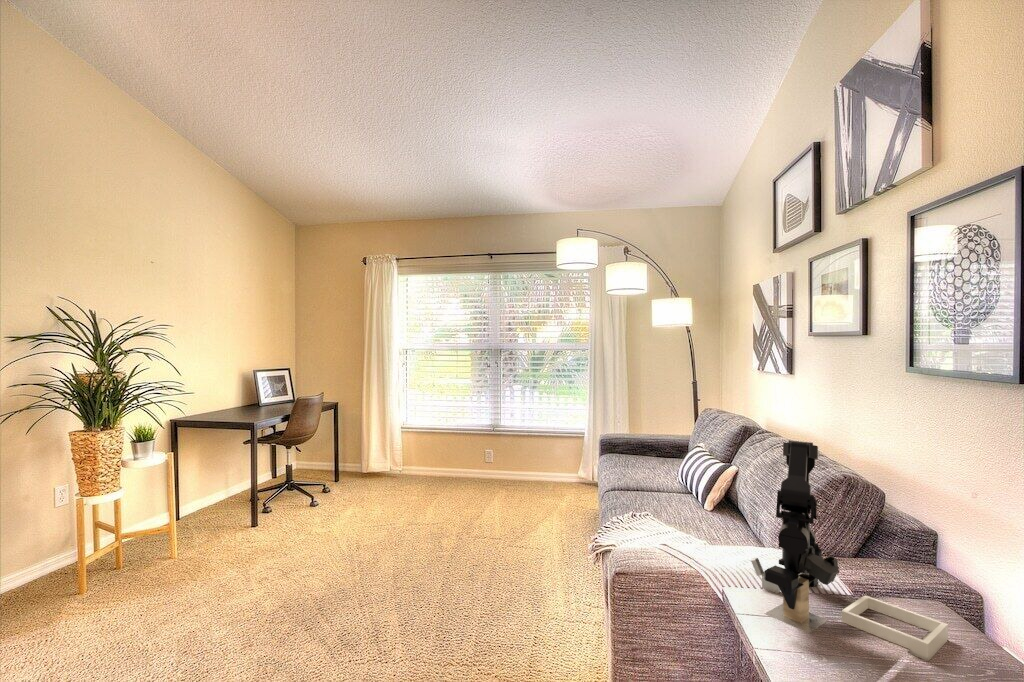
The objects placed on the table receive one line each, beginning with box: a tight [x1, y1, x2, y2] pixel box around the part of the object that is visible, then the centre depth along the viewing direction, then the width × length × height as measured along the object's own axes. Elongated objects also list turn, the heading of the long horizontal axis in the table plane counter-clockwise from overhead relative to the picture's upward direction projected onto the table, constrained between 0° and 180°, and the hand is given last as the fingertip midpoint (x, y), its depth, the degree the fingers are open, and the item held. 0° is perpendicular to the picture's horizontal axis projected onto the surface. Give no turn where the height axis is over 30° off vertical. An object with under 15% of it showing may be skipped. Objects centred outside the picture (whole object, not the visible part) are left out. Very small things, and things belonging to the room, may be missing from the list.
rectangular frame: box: [840, 595, 949, 662], centre depth 111 cm, size 16×14×4 cm
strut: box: [782, 577, 810, 623], centre depth 116 cm, size 4×4×9 cm
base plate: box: [764, 603, 829, 634], centre depth 116 cm, size 10×10×1 cm
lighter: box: [750, 557, 781, 594], centre depth 131 cm, size 7×2×8 cm, turn 38°
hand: (796, 606), depth 116 cm, fingers closed on strut, 4 cm apart
